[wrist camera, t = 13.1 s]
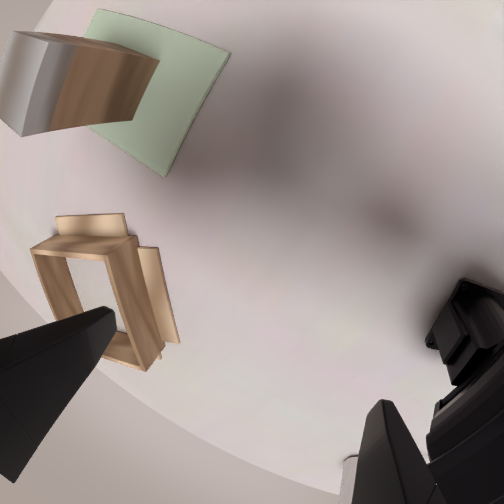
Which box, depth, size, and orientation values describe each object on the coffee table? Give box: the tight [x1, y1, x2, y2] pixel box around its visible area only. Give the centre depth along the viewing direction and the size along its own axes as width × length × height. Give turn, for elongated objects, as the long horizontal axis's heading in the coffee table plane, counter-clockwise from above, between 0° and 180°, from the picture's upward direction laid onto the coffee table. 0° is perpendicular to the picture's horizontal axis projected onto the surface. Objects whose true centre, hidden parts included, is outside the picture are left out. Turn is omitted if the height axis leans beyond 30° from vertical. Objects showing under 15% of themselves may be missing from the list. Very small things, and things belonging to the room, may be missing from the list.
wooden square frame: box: [30, 214, 180, 372], centre depth 26 cm, size 16×16×4 cm
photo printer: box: [339, 457, 358, 504], centre depth 24 cm, size 10×4×12 cm, turn 93°
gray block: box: [0, 31, 160, 137], centre depth 14 cm, size 5×5×10 cm
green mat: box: [83, 9, 231, 177], centre depth 18 cm, size 14×10×1 cm
